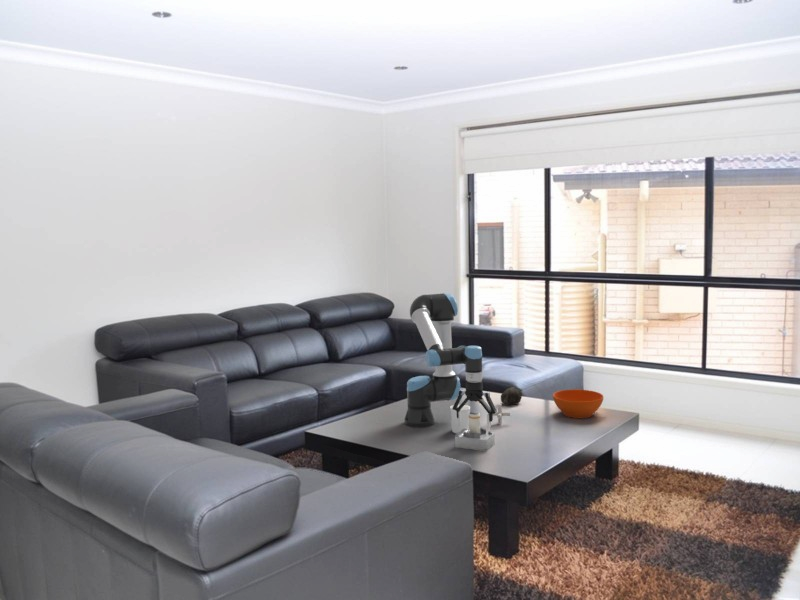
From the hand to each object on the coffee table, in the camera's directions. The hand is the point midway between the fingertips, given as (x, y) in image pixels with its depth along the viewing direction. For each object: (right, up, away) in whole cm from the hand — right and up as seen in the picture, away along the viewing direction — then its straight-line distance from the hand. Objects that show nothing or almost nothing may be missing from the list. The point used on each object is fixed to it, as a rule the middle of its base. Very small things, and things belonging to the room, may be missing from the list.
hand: (474, 426), depth 326 cm
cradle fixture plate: (0, -9, +1) cm, 9 cm away
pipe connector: (+16, -5, +33) cm, 37 cm away
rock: (+27, 0, +70) cm, 75 cm away
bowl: (+58, -2, +46) cm, 74 cm away
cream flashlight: (0, -4, 0) cm, 4 cm away
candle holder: (-4, -6, +23) cm, 24 cm away
